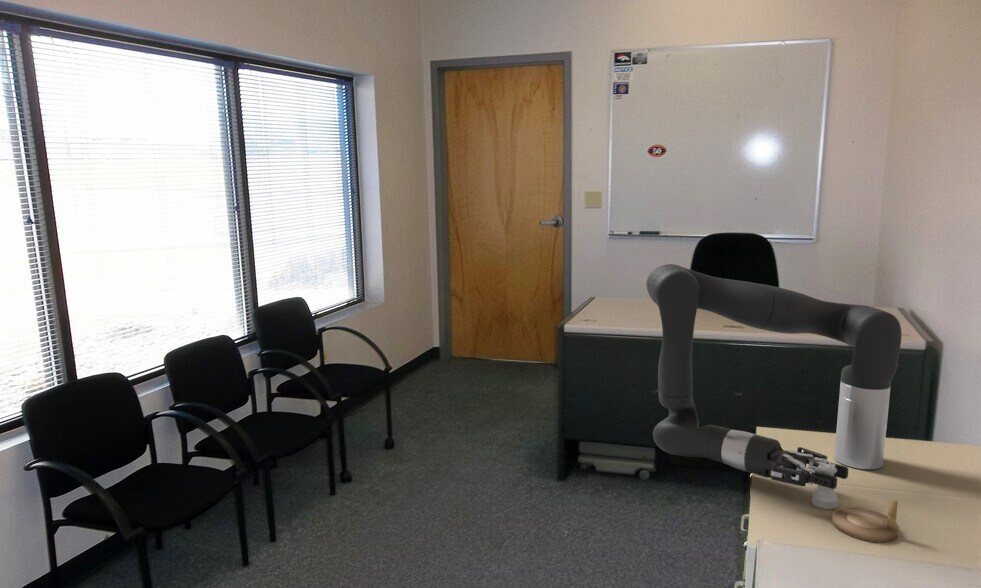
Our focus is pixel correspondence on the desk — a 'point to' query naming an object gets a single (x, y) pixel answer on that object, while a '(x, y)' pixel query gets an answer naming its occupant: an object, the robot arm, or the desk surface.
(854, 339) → the robot arm
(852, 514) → the handwheel with crank handle
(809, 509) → the desk surface
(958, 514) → the desk surface
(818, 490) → the rook chess piece
